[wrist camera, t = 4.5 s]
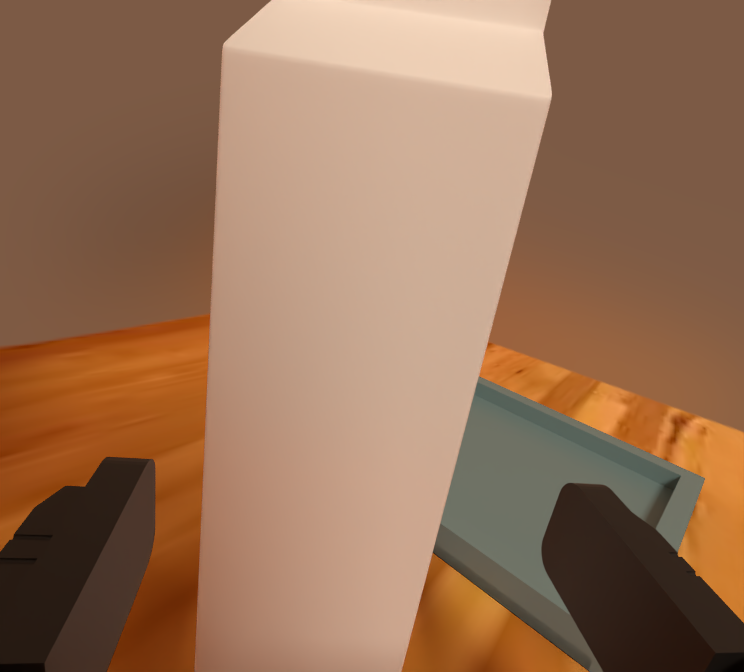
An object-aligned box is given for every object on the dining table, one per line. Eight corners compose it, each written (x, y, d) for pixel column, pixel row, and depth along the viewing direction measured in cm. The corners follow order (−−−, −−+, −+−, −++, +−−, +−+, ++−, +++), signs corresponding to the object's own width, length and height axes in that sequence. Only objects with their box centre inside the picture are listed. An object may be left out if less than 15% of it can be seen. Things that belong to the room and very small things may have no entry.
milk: (256, 575, 20) (315, -28, 13) (394, 606, 20) (532, 2, 13) (188, 731, 15) (223, -193, 7) (379, 778, 14) (617, -145, 7)
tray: (311, 460, 28) (314, 434, 28) (464, 390, 42) (469, 371, 41) (620, 694, 18) (636, 661, 17) (694, 500, 31) (705, 478, 30)
